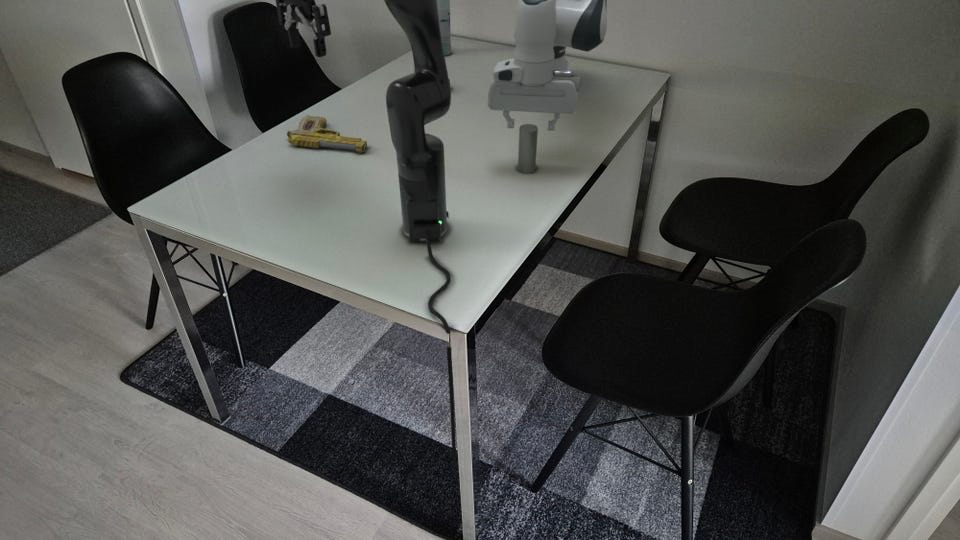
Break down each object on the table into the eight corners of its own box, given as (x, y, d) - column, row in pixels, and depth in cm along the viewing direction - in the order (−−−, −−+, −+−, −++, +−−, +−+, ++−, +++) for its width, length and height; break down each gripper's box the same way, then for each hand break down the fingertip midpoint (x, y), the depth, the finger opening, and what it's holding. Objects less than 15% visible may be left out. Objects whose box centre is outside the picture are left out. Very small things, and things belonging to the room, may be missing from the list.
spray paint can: (430, 51, 220) (427, -10, 208) (447, 48, 222) (445, -12, 209) (435, 57, 215) (433, -5, 203) (453, 54, 217) (452, -7, 205)
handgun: (382, 130, 171) (364, 155, 159) (304, 122, 174) (280, 145, 162) (382, 122, 169) (363, 146, 157) (303, 113, 172) (278, 136, 161)
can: (532, 174, 151) (534, 132, 145) (515, 171, 152) (517, 130, 146) (537, 166, 154) (540, 125, 148) (520, 163, 156) (522, 122, 149)
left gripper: (333, -30, 121) (344, 54, 131) (288, -41, 128) (302, 40, 138) (301, -23, 116) (315, 64, 126) (256, -34, 124) (273, 48, 134)
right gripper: (581, 66, 139) (576, 125, 148) (490, 63, 142) (490, 120, 150) (580, 76, 134) (575, 136, 143) (486, 72, 137) (486, 131, 145)
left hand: (308, 51), depth 132 cm, fingers open, 8 cm apart
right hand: (530, 128), depth 146 cm, fingers open, 8 cm apart
